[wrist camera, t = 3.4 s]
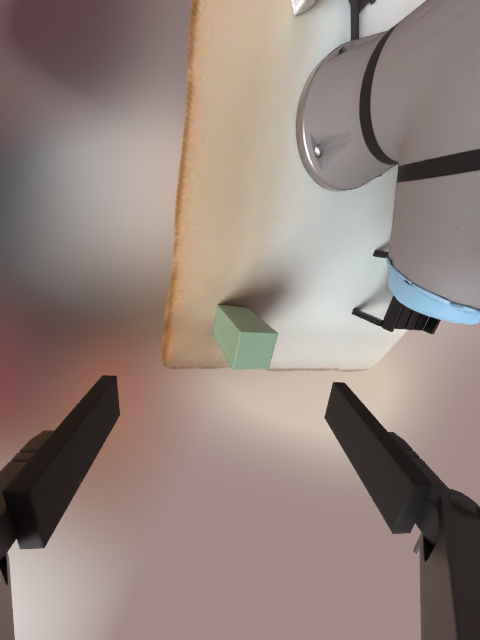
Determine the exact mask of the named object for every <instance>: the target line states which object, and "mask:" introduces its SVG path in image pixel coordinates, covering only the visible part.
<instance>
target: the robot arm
mask: <svg viewBox="0 0 480 640" xmlns="http://www.w3.org/2000/svg"><path fill="white" fill-rule="evenodd" d="M296 137H297V145H298V150H299V154H300V157H301V160H302V162H303V165H304V167H305V169H306V171H307V172H308V174H309V175H310V177H311V178H312V179H313V180H314V181H315V182H316V183H317V184H318V185H320V186H321V187H323V188H325V189H327V190H331V191H345V190H351V189H355V188H358V187H361V186H363V185H364V184H366V183H368V182H369V181H370V180H372V179H374V178H375V177H379V176H382V174H383V173H384V172H385V171H387V170H389V169H390V168H392V167H393V166H395V165H398V164H399V165H398V176H397V182H396V192H395V202H394V212H393V222H392V231H391V239H390V247H389V251H388V254H387V263H388V287H389V290H390V292H391V293H392V294H393V296H395V297H396V299H397V300H398V301H399V302H400V303H402V304H403V305H405V306H406V307H408V308H410V309H412V310H414V311H416V312H419V313H421V314H424V315H427V316H430V317H433V318H436V319H440V320H445V321H449V322H454V323H460V324H470V325H475V324H478V323H479V322H480V0H426V1H425V2H424V3H423V4H421V5H420V6H419V7H418V8H416V9H415V10H414V11H413V12H411V13H410V14H409V15H408V16H406V17H405V18H404V19H403V20H402V21H400V22H399V23H398V24H396V25H395V26H394V27H392V28H391V29H390V30H389V31H385V32H381V33H378V34H374V35H371V36H367V37H364V38H361V39H359V0H351V41H350V42H347V43H345V44H342V45H340V46H339V47H337V48H336V49H335V50H333V51H332V52H331V53H330V54H329V55H328V56H327V57H325V58H324V59H323V60H322V61H321V62H320V63H319V64H318V65H317V66H316V68H315V69H314V70H313V72H312V73H311V75H310V76H309V78H308V80H307V82H306V84H305V86H304V89H303V91H302V94H301V97H300V101H299V105H298V111H297V119H296ZM119 416H120V410H119V399H118V388H117V376H105V375H103V376H102V377H101V378H100V379H99V380H98V381H97V382H96V384H95V385H94V386H93V387H92V388H91V389H90V391H89V392H88V393H87V394H86V395H85V396H84V397H83V398H82V400H81V401H80V402H79V403H78V404H77V406H76V407H75V408H74V409H73V410H72V411H71V412H70V414H69V415H68V416H67V417H66V418H65V419H64V421H63V422H62V423H61V424H60V425H59V426H58V428H57V429H56V430H55V431H43V432H41V433H40V434H38V435H37V436H35V437H34V438H32V439H31V440H30V441H29V442H28V443H27V444H26V445H25V446H24V447H23V448H22V449H21V450H20V452H19V453H17V454H16V455H15V456H14V458H13V459H12V460H11V462H9V463H8V464H7V465H6V466H5V467H4V468H3V469H2V470H1V471H0V640H15V638H14V624H13V609H12V595H11V581H10V566H9V556H8V553H7V552H8V550H9V549H10V547H11V546H12V544H13V543H14V542H15V540H16V539H17V540H18V544H19V547H20V549H34V548H35V549H37V548H45V546H46V544H47V542H48V540H49V539H50V537H51V535H52V533H53V532H54V530H55V528H56V526H57V525H58V523H59V521H60V519H61V518H62V516H63V514H64V512H65V511H66V509H67V507H68V505H69V504H70V502H71V500H72V498H73V497H74V495H75V493H76V491H77V490H78V488H79V486H80V484H81V483H82V481H83V479H84V477H85V475H86V474H87V472H88V470H89V469H90V467H91V465H92V463H93V461H94V460H95V458H96V456H97V454H98V453H99V451H100V449H101V447H102V446H103V444H104V442H105V440H106V439H107V437H108V435H109V433H110V431H111V430H112V428H113V426H114V425H115V423H116V421H117V419H118V417H119ZM325 419H326V421H327V423H328V424H329V426H330V428H331V430H332V431H333V433H334V435H335V436H336V438H337V440H338V441H339V443H340V445H341V447H342V448H343V450H344V452H345V453H346V455H347V457H348V458H349V460H350V462H351V463H352V465H353V467H354V469H355V470H356V472H357V474H358V475H359V477H360V479H361V481H362V482H363V484H364V486H365V487H366V489H367V491H368V492H369V494H370V496H371V497H372V499H373V501H374V503H375V504H376V506H377V508H378V509H379V511H380V513H381V514H382V516H383V518H384V519H385V521H386V523H387V525H388V526H389V528H390V530H391V531H392V533H393V534H397V533H399V534H400V533H410V532H411V530H412V528H413V526H414V524H415V523H416V525H417V526H418V528H419V529H420V530H421V532H422V533H421V535H420V537H419V539H418V541H417V543H416V545H415V548H414V552H415V553H417V552H418V549H420V597H421V598H420V599H421V600H420V602H421V640H480V507H479V506H478V504H476V503H475V502H474V501H473V500H472V499H470V498H469V497H467V496H466V495H464V494H463V493H461V492H458V491H456V490H453V489H449V488H448V487H447V486H446V485H445V484H444V483H443V482H442V481H441V480H440V479H439V477H438V476H437V475H436V474H435V473H434V472H433V471H432V470H431V469H430V468H429V467H428V466H427V465H426V463H425V462H424V461H423V460H422V459H420V457H419V456H418V455H417V454H416V453H415V451H413V449H412V448H411V447H410V446H409V445H408V444H407V443H406V442H405V441H404V440H403V439H402V438H400V437H399V436H397V435H396V434H395V433H394V432H387V431H386V429H385V428H384V427H383V426H382V425H381V424H380V423H379V422H378V420H377V419H376V418H375V417H374V416H373V415H372V413H371V412H370V411H369V410H368V409H367V408H366V407H365V405H364V404H363V403H362V402H361V401H360V400H359V399H358V397H357V396H356V395H355V394H354V393H353V392H352V391H351V389H350V388H349V387H348V386H347V385H346V384H345V383H340V382H333V385H332V389H331V393H330V397H329V401H328V406H327V410H326V414H325Z"/></svg>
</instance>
